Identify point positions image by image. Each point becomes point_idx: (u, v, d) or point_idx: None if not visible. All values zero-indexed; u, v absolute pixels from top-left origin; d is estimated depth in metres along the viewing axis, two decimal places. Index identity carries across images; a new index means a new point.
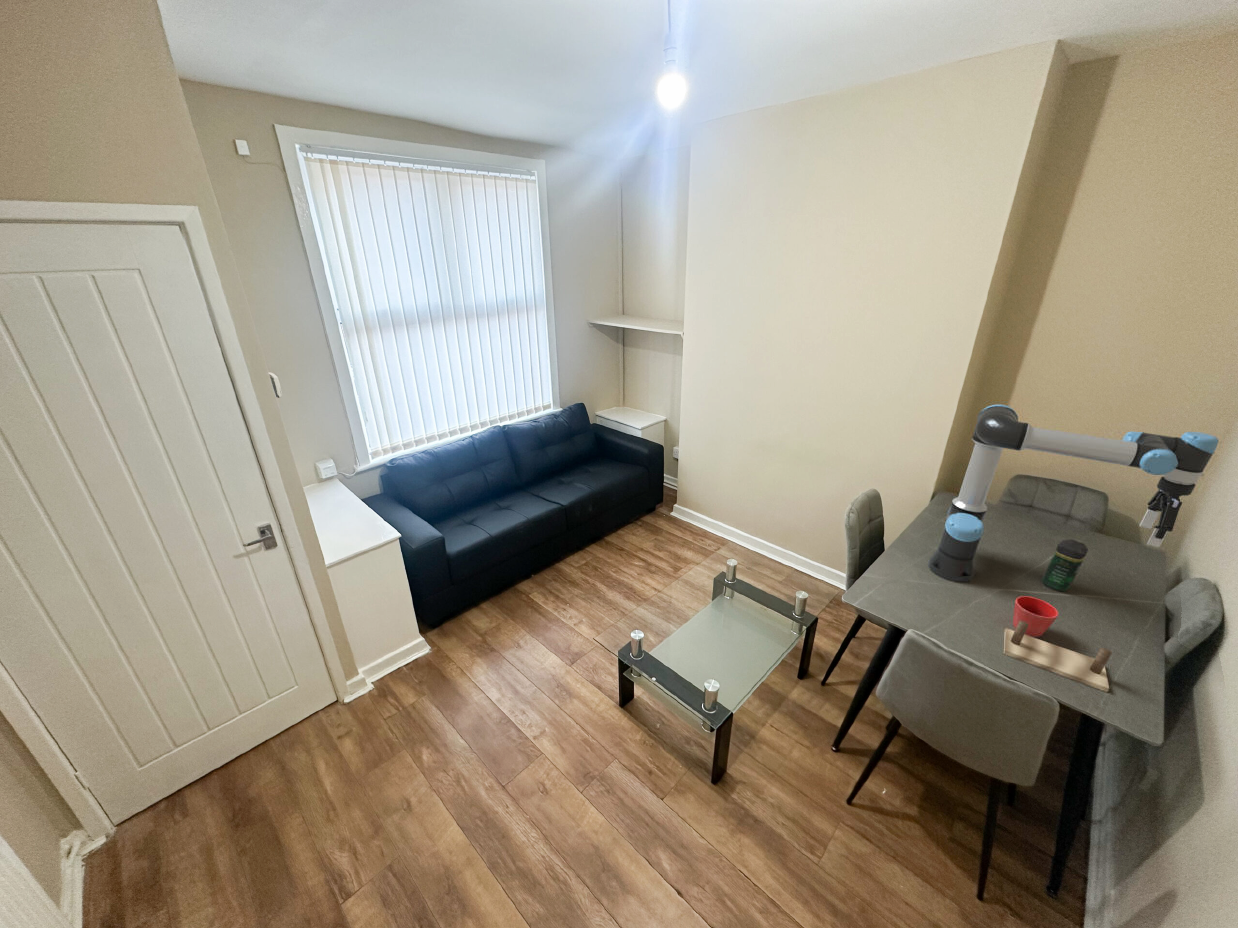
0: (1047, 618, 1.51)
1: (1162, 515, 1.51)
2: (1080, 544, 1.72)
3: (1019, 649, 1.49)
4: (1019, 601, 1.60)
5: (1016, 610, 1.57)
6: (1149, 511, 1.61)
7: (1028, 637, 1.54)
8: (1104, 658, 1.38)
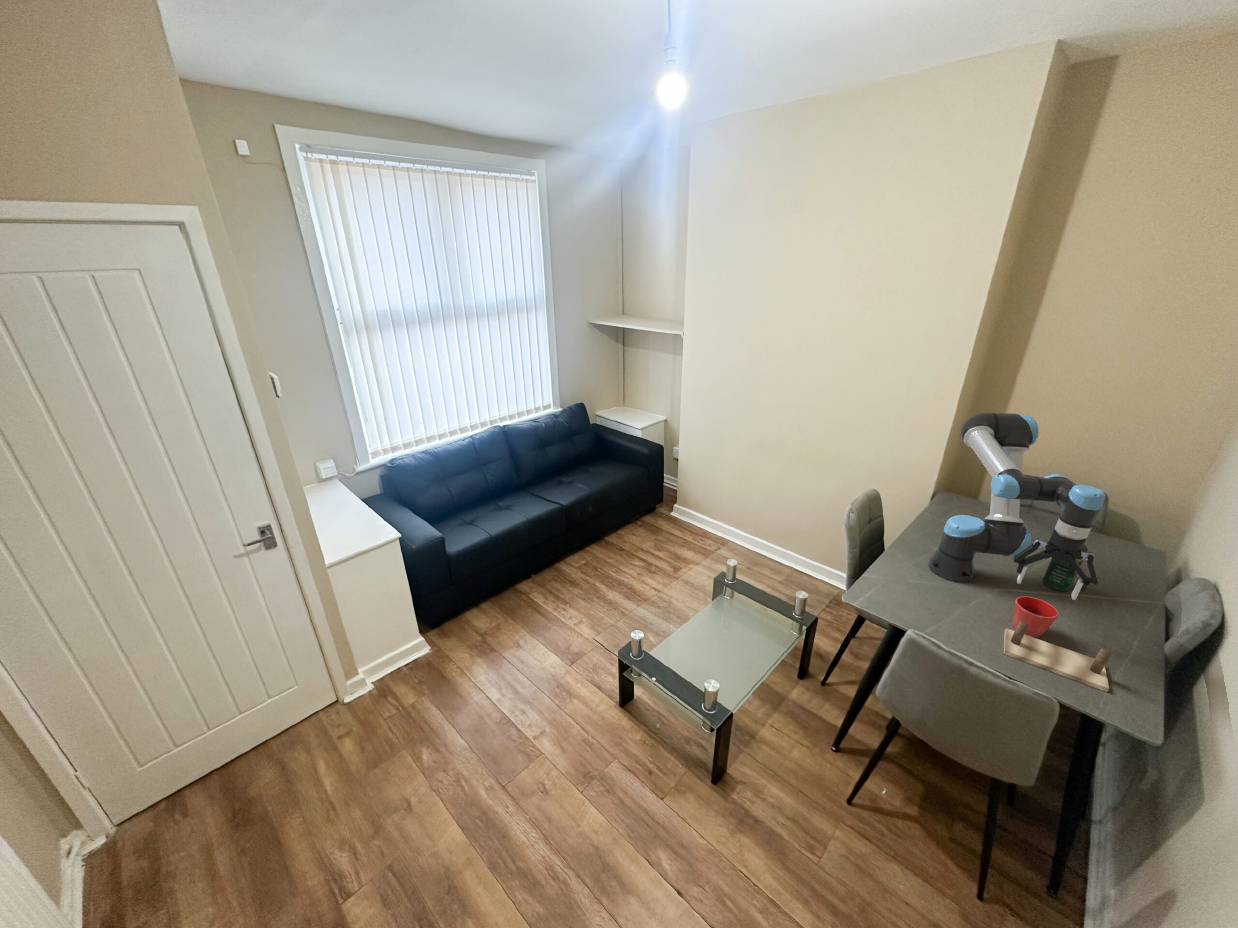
0: (1047, 618, 1.51)
1: (1033, 555, 1.52)
2: None
3: (1019, 649, 1.49)
4: (1019, 601, 1.60)
5: (1016, 610, 1.57)
6: (1079, 579, 1.47)
7: (1028, 637, 1.54)
8: (1104, 658, 1.38)
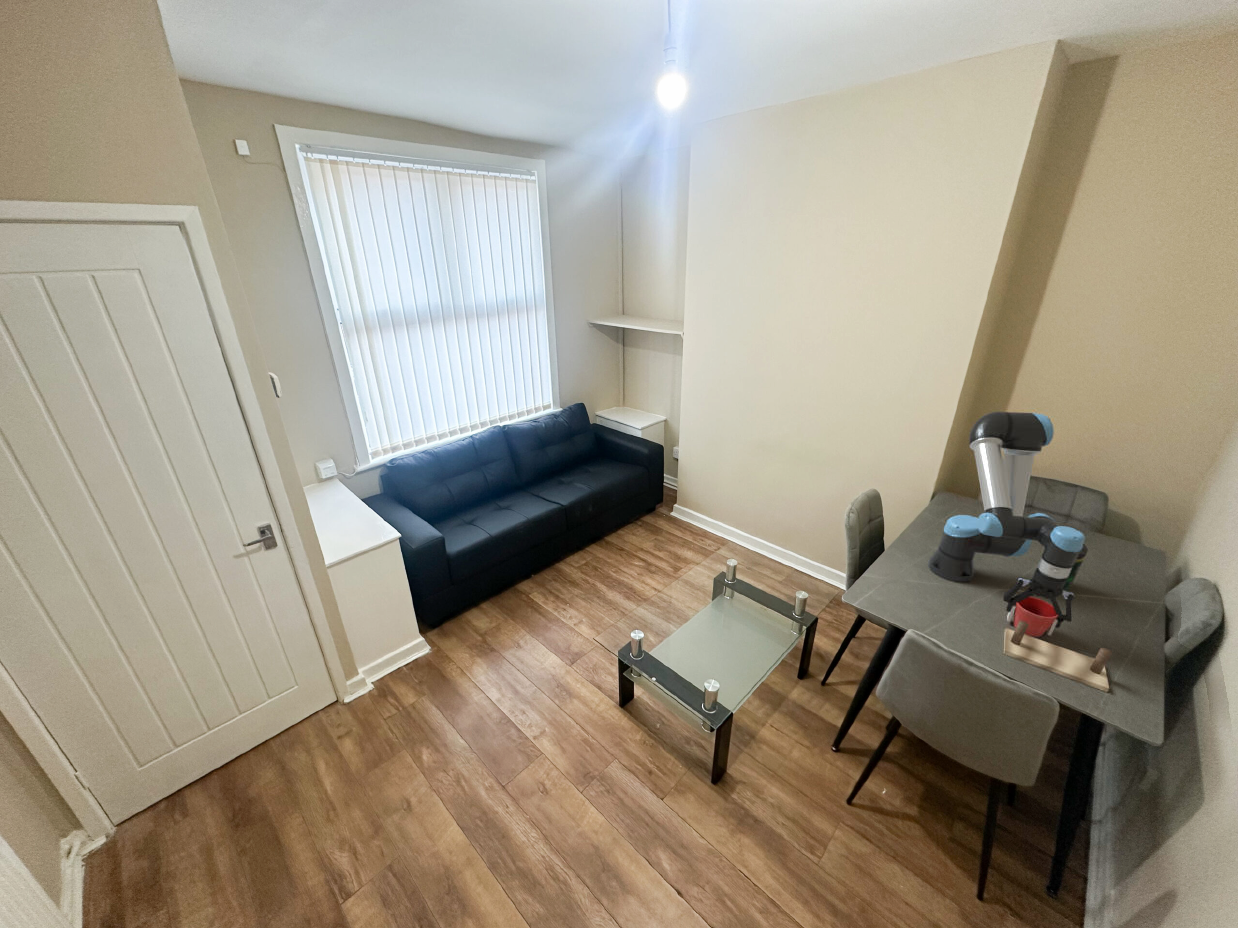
0: (1047, 618, 1.51)
1: (1020, 593, 1.58)
2: None
3: (1019, 649, 1.49)
4: None
5: (1016, 610, 1.57)
6: None
7: (1028, 637, 1.54)
8: (1104, 658, 1.38)
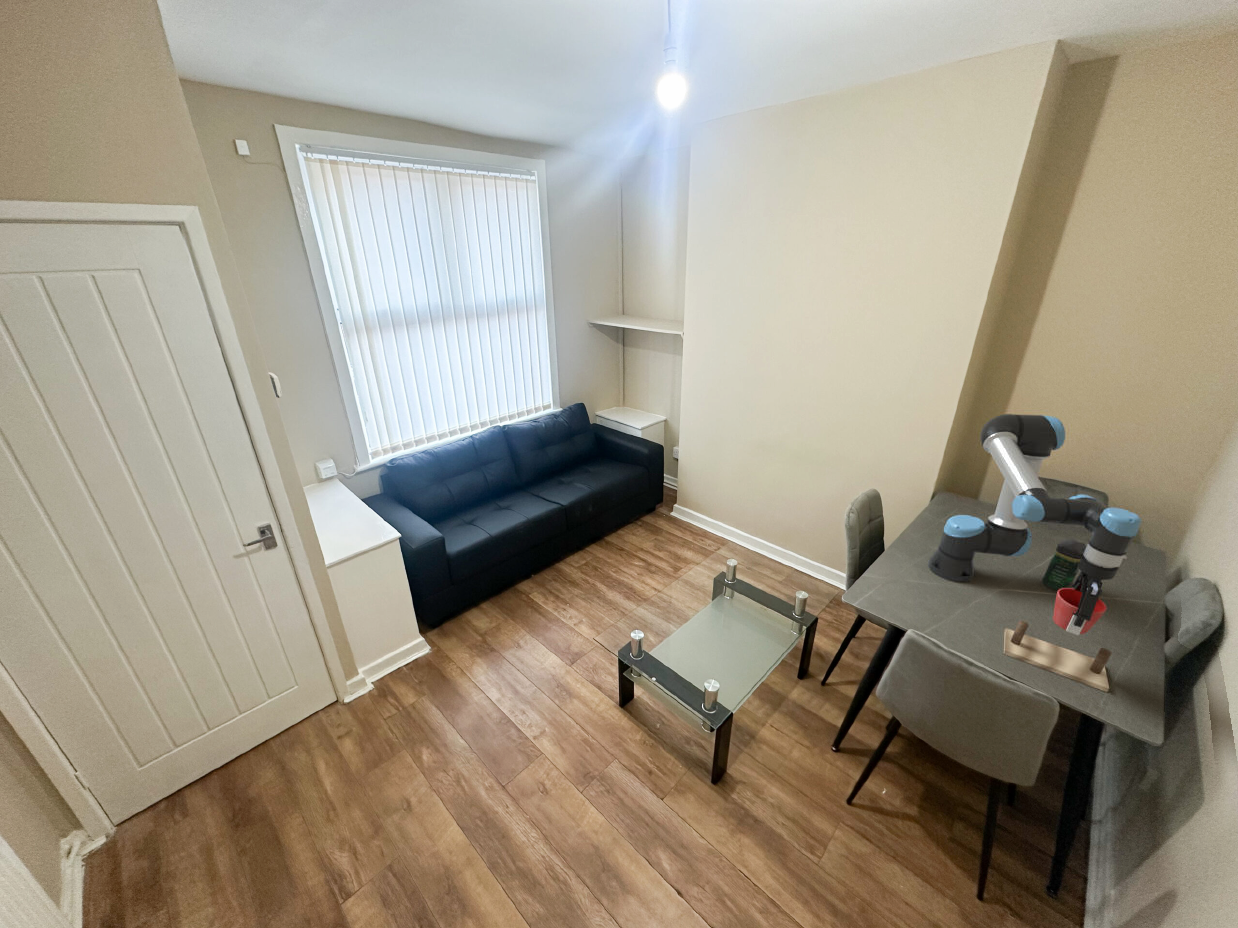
0: None
1: (1081, 601, 1.33)
2: (1080, 544, 1.72)
3: (1019, 649, 1.49)
4: None
5: None
6: None
7: (1028, 637, 1.54)
8: (1104, 658, 1.38)
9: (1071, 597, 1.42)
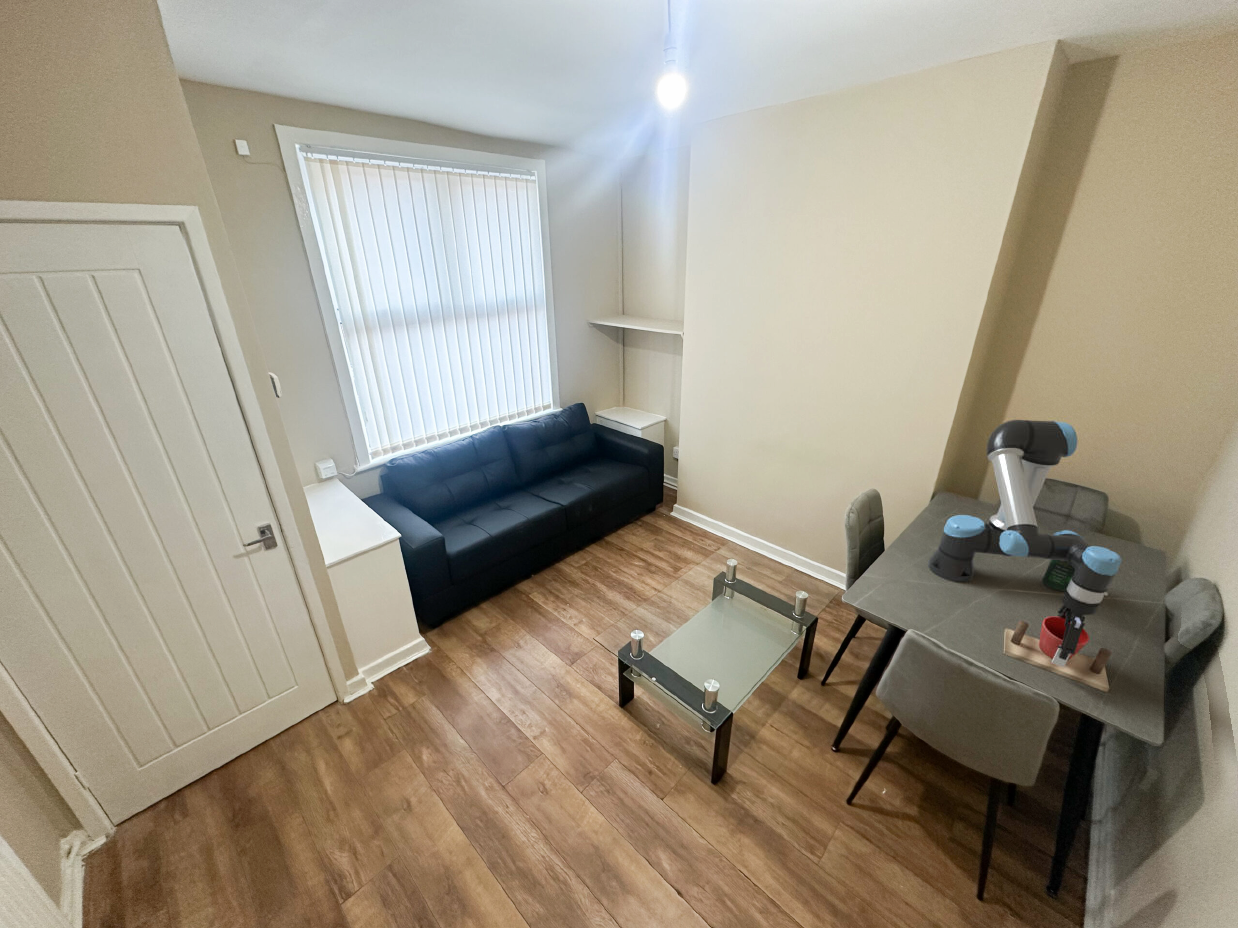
0: None
1: (1066, 634, 1.38)
2: None
3: (1019, 649, 1.49)
4: None
5: None
6: None
7: (1028, 637, 1.54)
8: (1104, 658, 1.38)
9: (1056, 624, 1.48)
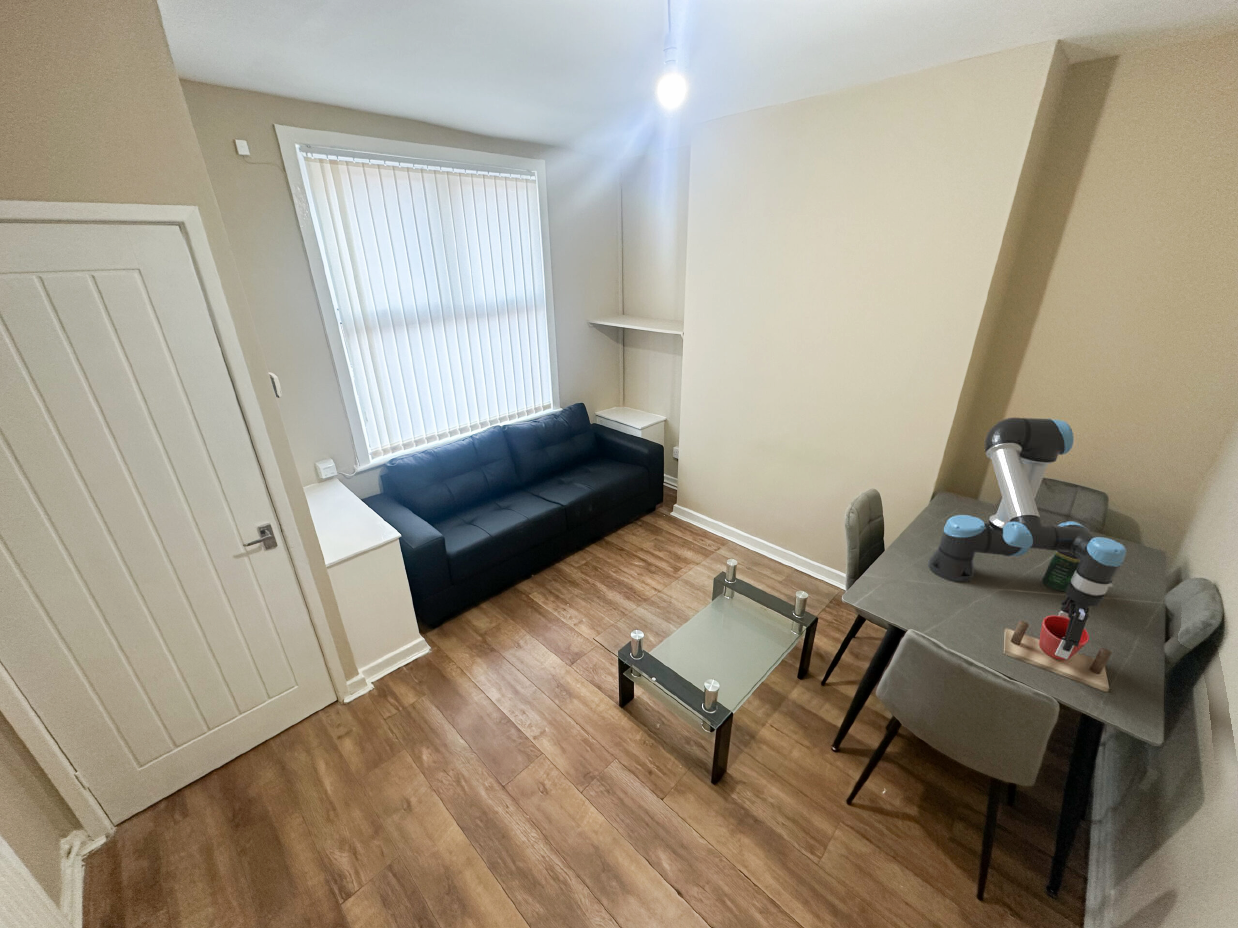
0: None
1: (1069, 625, 1.37)
2: None
3: (1019, 649, 1.49)
4: None
5: (1073, 649, 1.40)
6: (1062, 613, 1.47)
7: (1028, 637, 1.54)
8: (1104, 658, 1.38)
9: (1056, 623, 1.48)
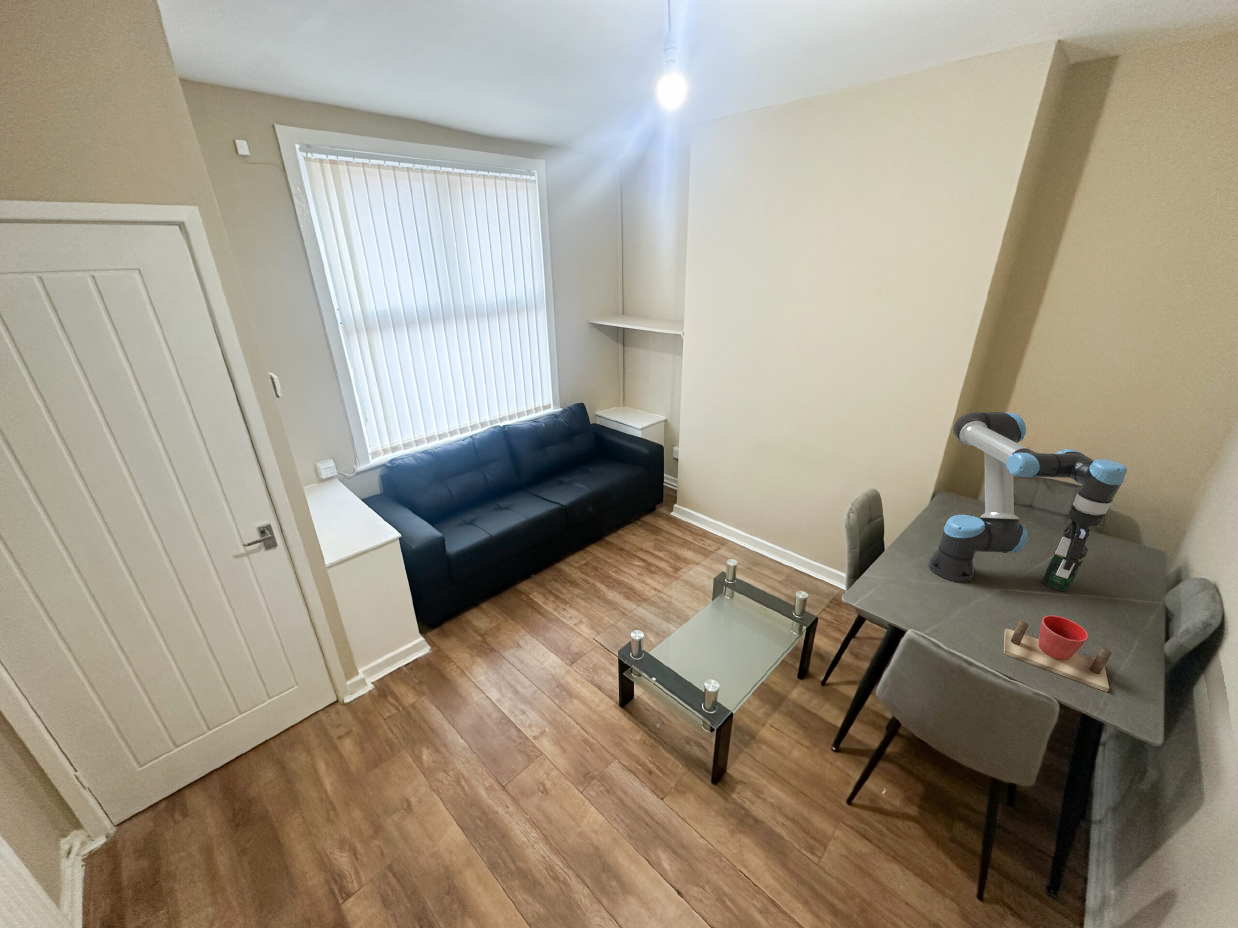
0: None
1: (1070, 546, 1.43)
2: None
3: (1019, 649, 1.49)
4: None
5: (1073, 646, 1.41)
6: (1064, 539, 1.54)
7: (1028, 637, 1.54)
8: (1104, 658, 1.38)
9: (1054, 624, 1.50)
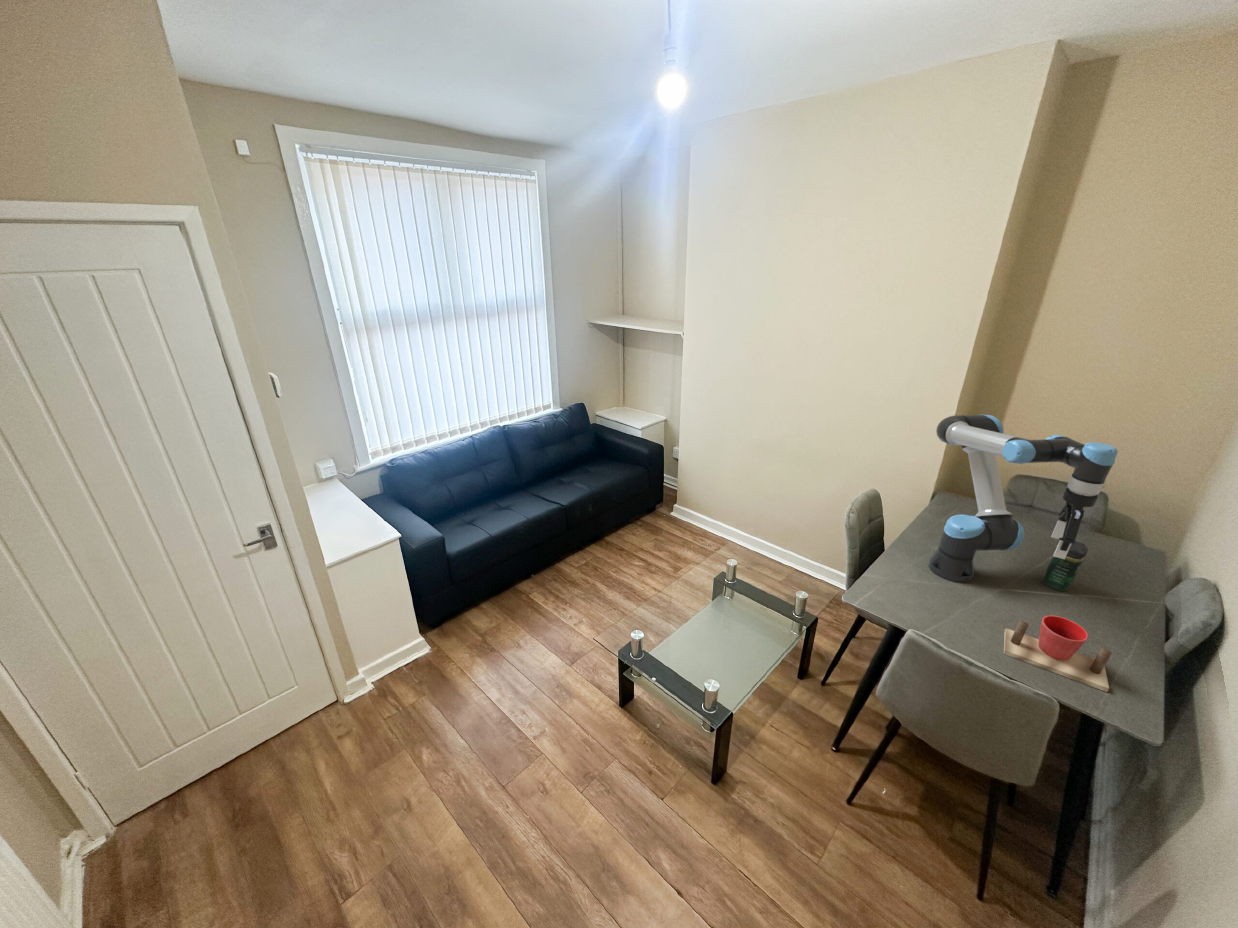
0: None
1: (1066, 527, 1.48)
2: (1080, 544, 1.72)
3: (1019, 649, 1.49)
4: None
5: (1073, 646, 1.41)
6: (1059, 522, 1.59)
7: (1028, 637, 1.54)
8: (1104, 658, 1.38)
9: (1054, 624, 1.50)
